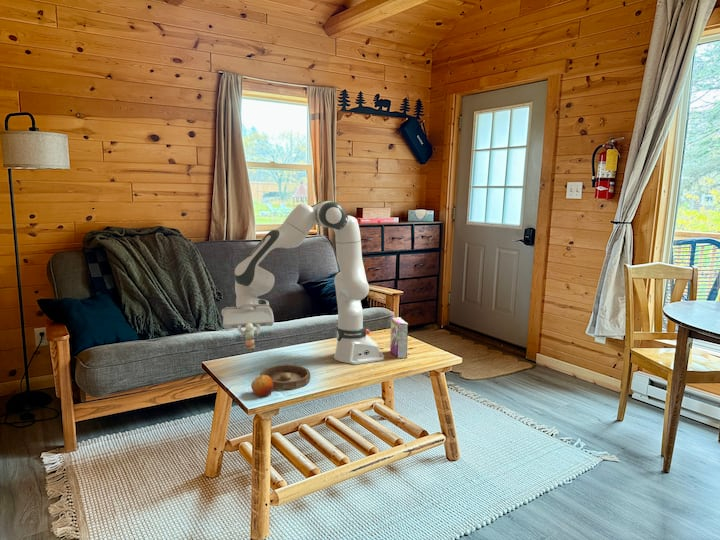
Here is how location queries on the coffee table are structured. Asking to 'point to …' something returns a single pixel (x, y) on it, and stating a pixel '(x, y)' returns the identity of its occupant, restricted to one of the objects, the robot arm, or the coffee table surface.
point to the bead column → (249, 337)
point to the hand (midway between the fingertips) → (249, 335)
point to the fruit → (262, 386)
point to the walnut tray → (295, 376)
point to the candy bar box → (399, 337)
